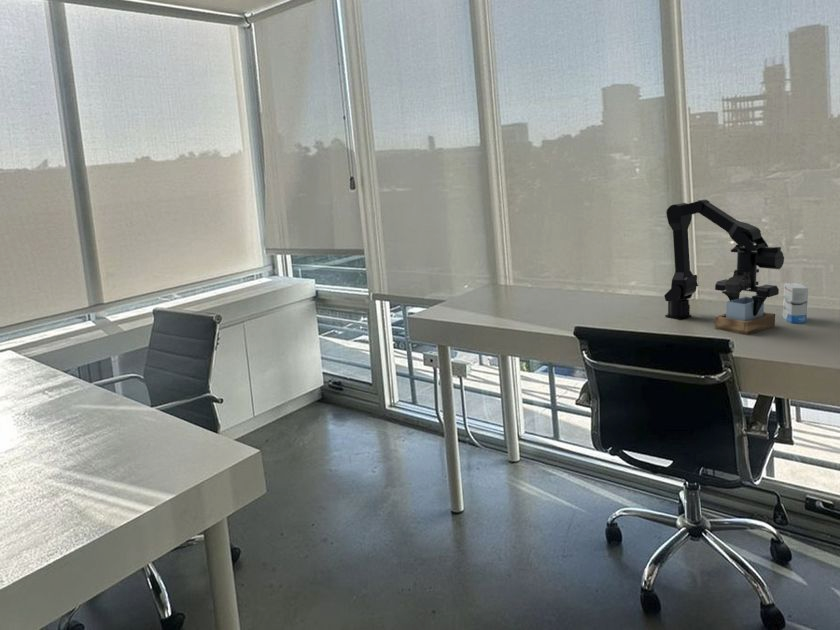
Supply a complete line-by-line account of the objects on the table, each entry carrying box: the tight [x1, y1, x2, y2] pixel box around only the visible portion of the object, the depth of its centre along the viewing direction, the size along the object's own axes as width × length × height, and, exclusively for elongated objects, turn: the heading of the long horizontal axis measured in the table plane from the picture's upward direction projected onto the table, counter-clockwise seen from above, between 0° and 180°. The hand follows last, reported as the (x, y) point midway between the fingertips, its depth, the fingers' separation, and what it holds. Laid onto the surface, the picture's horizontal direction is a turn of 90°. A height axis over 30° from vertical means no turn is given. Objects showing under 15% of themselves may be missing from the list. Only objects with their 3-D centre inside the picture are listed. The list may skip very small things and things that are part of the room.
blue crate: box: [725, 296, 765, 321], centre depth 219 cm, size 6×10×6 cm, turn 122°
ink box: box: [782, 282, 809, 324], centre depth 223 cm, size 8×5×12 cm, turn 168°
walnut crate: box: [714, 311, 776, 336], centre depth 220 cm, size 11×15×4 cm
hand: (744, 313), depth 219 cm, fingers closed on blue crate, 6 cm apart
